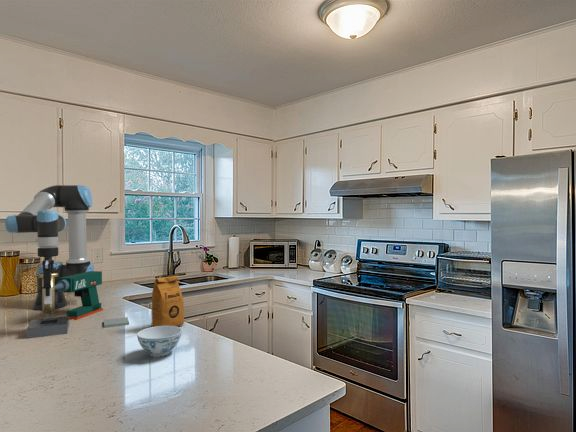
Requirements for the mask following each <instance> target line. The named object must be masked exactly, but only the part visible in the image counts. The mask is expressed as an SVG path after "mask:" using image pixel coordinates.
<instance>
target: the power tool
mask: <svg viewBox="0 0 576 432" xmlns="http://www.w3.org/2000/svg"><path fill="white" fill-rule="evenodd" d="M101 285H103V271H102V270H101V271H100V270H99V271H98V270H94V271H89V272H84V273H80V274H75V275H70V276H66V277H61V278H58V282H57V283H56V285H55V290H58V291H59V292H63V293H74V294H73V295H74V297H78V298H80V301H81V306H77V307H74V308H70V309H68V310H66V316H69V320H72V319H74V321H75V320H77V321H78V320H81V319H83V318H86V317H88V316H89V317H90V316H92V315H93V314H96V313H99V312H100V313H101V312H102V311H104V308H103V307H102V302H100V299H99V294H98V289H97V286H101Z"/></svg>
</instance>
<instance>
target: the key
mask: <svg viewBox="0 0 576 432" xmlns="http://www.w3.org/2000/svg"><path fill="white" fill-rule="evenodd" d="M54 277H58V273H51V288H52V304H44V289H42V299H43V310H42V314H45V315H46V314H54V313H55V312H56V309H55V281H54ZM38 278H42V287H43V286H44V280H43V274H38Z"/></svg>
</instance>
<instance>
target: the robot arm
mask: <svg viewBox="0 0 576 432" xmlns="http://www.w3.org/2000/svg"><path fill="white" fill-rule="evenodd" d="M92 206H93V197H92V193H91V189H90V188H89V187H88V186H87V185H79V184H77V185H75V184H74V185H72V184H71V185H69V184H67V185H65V184H64V185H61V184H56V185H55V184H54V185H50V186H48V187H46V188H43V189H41V190H39V191H38V192H37V193H36V194H35V195H34V197H33V200H32V201H31V202H30V203H29V204H28V205H27V206H26V207H24V209H22V211H21V212H20V213H19V214H17V215H16V214H14V215H8V216H7V217H6V219H5V221H4V222H5V223H4V224H5V230H6V231H7V232H8V233H14V234H15V233H16V234H21V233H22V234H24V233H37V234H36V235H37V236H36V237H37V239H36V240H35V242H37V247H38V248H37V257H38V258H43V259H44V260H43V261H42V262H41V265H39V266H38V267H37V269H36V271H37V272H36V281H37V284H36V285H37V294H36V296H35V299H34V303H33V309H34V310H35V311H36V310H37V311H43V299H42V289H44V304H52V288H51V273H58V277H54V281H55V285H56V283H57V282H58V278H61V277H66V276H70V275H75V274H80V273H84V272H89V271H95V266H94V263H91V259H90V258H89V257H88V248H87V247H88V245H87V244H88V243H87V242H88V241H87V213H88V212H89V211H90V208H91V207H92ZM53 208H63V210H64V212H65V213H67V219H66V218H65V217H64V216H62V215H59V212H58V211H57V210H51V209H53ZM66 227H67V229H68V230H67V232H68V259H67V260H66V261H65V264H63V262H62V261H56V262H55V260H53V257H57V256H59V247H58V246H59V232H61V231H64V230H65V229H66ZM38 274H43V280H44V286H43V287H42V278H38ZM67 305H68V302H67V298H66V296H65V292H59V291H58V290H55V310H56V309H60V308H64V307H66V306H67Z"/></svg>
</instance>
